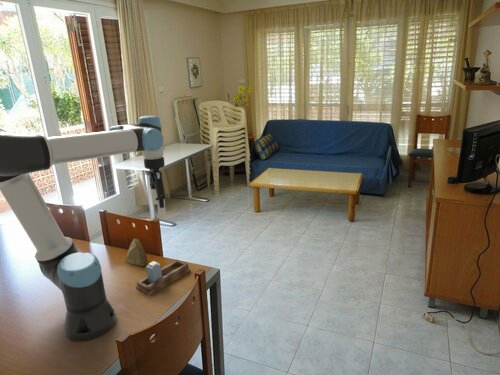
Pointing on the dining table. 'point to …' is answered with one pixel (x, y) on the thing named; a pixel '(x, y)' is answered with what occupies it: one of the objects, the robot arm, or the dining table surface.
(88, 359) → the dining table surface
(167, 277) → the wooden tray
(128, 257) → the rock
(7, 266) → the dining table surface
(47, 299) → the dining table surface
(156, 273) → the rider
